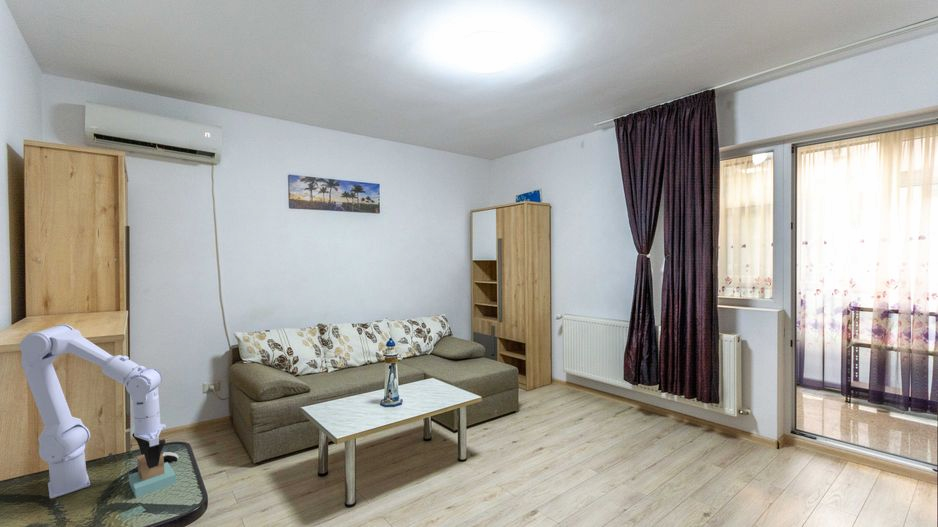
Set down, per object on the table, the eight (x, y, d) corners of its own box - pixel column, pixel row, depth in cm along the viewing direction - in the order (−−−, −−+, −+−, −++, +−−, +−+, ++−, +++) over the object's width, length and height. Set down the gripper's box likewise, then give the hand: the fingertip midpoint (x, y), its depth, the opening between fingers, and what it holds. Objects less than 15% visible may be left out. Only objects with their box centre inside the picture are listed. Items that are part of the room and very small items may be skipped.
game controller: (149, 475, 122) (137, 458, 123) (141, 485, 124) (129, 468, 125) (181, 457, 132) (170, 441, 132) (173, 467, 133) (161, 451, 134)
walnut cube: (138, 473, 120) (136, 456, 120) (159, 466, 124) (158, 449, 123) (142, 481, 117) (141, 463, 116) (164, 473, 120) (163, 456, 120)
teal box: (129, 485, 120) (128, 474, 119) (168, 471, 126) (167, 461, 126) (136, 499, 114) (135, 488, 113) (176, 484, 120) (175, 474, 120)
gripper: (171, 417, 117) (174, 465, 118) (158, 402, 127) (161, 446, 128) (138, 426, 112) (142, 476, 113) (128, 409, 121) (131, 455, 123)
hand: (150, 461), depth 120 cm, fingers open, 7 cm apart
